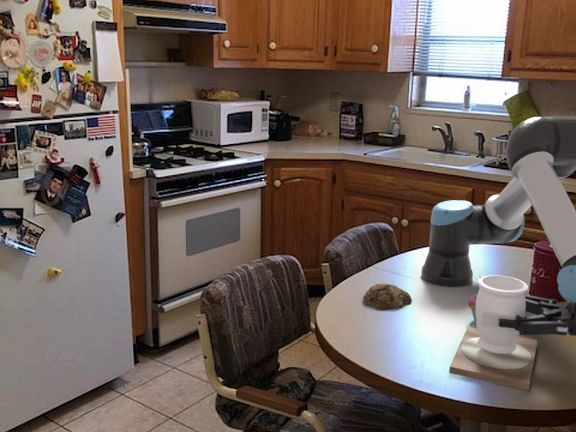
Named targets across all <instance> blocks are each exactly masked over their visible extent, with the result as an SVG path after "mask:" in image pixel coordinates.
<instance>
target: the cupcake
mask: <svg viewBox="0 0 576 432" xmlns="http://www.w3.org/2000/svg"><path fill="white" fill-rule="evenodd" d="M481 277H482V276H479V279H480V278H481ZM477 295H478V293H477V294H474V295H471V296H470V298H469V299H468V301H467V304H468V308H469V309H470V310H471V312H472V317H473V321H474V322H475V323H476V312H475V308H476V299H477Z"/></svg>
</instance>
